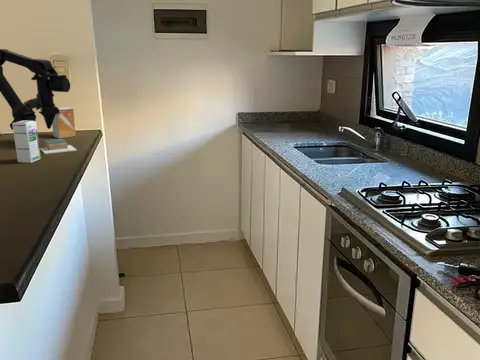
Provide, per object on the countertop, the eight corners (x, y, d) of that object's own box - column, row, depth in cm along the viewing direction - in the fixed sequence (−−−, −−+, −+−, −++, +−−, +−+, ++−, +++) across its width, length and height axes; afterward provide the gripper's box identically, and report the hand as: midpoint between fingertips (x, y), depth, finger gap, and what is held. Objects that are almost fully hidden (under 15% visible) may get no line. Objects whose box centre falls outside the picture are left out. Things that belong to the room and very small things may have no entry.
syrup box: (31, 163, 166) (26, 122, 162) (17, 162, 167) (11, 122, 163) (41, 159, 171) (36, 120, 167) (27, 158, 172) (22, 119, 168)
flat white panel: (39, 149, 188) (39, 148, 187) (70, 146, 194) (70, 144, 194) (44, 154, 180) (44, 152, 179) (76, 150, 186) (76, 149, 186)
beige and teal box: (44, 140, 189) (48, 143, 182) (62, 138, 192) (67, 141, 186) (45, 146, 190) (49, 150, 183) (63, 145, 193) (67, 148, 187)
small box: (59, 138, 209) (56, 109, 205) (53, 136, 213) (50, 108, 209) (76, 136, 214) (73, 108, 211) (70, 134, 219) (67, 106, 215)
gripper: (20, 90, 195) (24, 126, 199) (27, 94, 179) (32, 134, 184) (48, 89, 200) (52, 124, 205) (57, 93, 185) (61, 131, 190)
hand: (49, 128), depth 196 cm, fingers closed
